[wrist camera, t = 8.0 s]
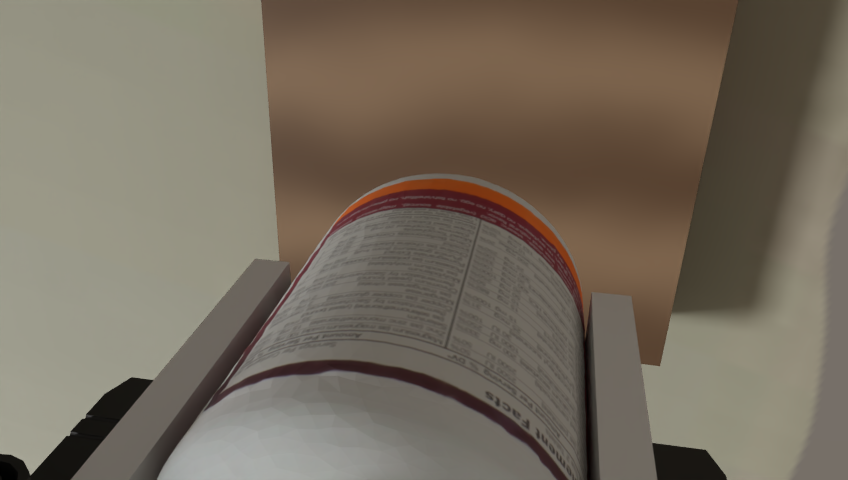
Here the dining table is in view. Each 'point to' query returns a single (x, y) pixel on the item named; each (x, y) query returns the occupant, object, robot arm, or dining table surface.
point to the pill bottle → (411, 351)
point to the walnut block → (506, 120)
